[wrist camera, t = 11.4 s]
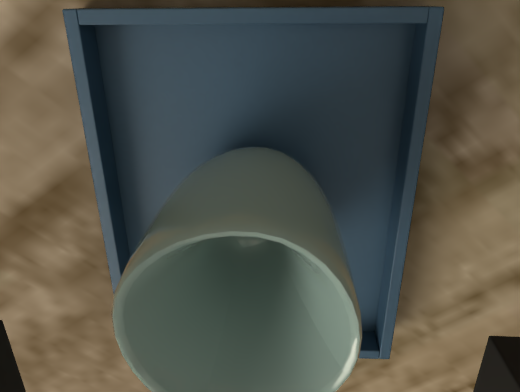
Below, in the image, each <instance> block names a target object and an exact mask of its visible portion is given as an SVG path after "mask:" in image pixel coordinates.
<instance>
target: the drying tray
mask: <svg viewBox="0 0 520 392" xmlns="http://www.w3.org/2000/svg"><path fill="white" fill-rule="evenodd" d="M443 14H444V7H437V6H364V7H209V8H79V9H63V16H64V21H65V27H66V32H67V38H68V44H69V49H70V55H71V60H72V66H73V71H74V77H75V82H76V88H77V93H78V99H79V105H80V110H81V116H82V121H83V127H84V132H85V138H86V143H87V149H88V154H89V160H90V166H91V171H92V177H93V182H94V188H95V193H96V199H97V204H98V210H99V215H100V221H101V226H102V232H103V238H104V243H105V249H106V254H107V260H108V265H109V271H110V276H111V282H112V287H113V293H115V290H116V287H117V285H118V282H119V280H120V278H121V276H122V274H123V272H124V270H125V268H126V265H127V263H128V261H129V259H130V258H131V256H132V254H133V252H134V250H135V249H136V247H137V245H138V243H139V242H140V240H141V238H142V236H143V235H144V233H145V231H146V230H147V228H148V226H149V224H150V223H151V221H152V220H153V218H154V216H155V215H156V213H157V212H158V210H159V209H160V207H161V205H162V204H163V203H164V201H165V200H166V199H167V197H168V196H169V195H170V194H171V192H172V191H173V190H174V189H175V188H176V186H177V185H178V184H179V183H180V182H181V180H182V179H183V178H184V177H185V176H186V175H187V174H188V173H190V172H191V171H192V170H193V169H195V168H196V167H197V166H199V165H200V164H201V163H203V162H204V161H206V160H208V159H210V158H212V157H213V156H215V155H217V154H219V153H222V152H225V151H228V150H231V149H234V148H241V147H248V146H258V147H268V148H272V149H276V150H280V151H282V152H284V153H286V154H288V155H290V156H292V157H294V158H295V159H296V160H297V161H299V162H300V163H301V164H302V165H303V166H305V167H306V168H307V169H308V171H309V172H310V173H311V174H312V175H313V177H314V178H315V179H316V180H317V182H318V183H319V185H320V186H321V188H322V190H323V192H324V193H325V195H326V197H327V199H328V201H329V203H330V205H331V207H332V209H333V212H334V214H335V217H336V220H337V223H338V226H339V229H340V232H341V235H342V239H343V242H344V245H345V248H346V252H347V255H348V259H349V263H350V267H351V270H352V274H353V278H354V282H355V286H356V290H357V294H358V299H359V304H360V312H361V323H362V342H361V348H360V354H359V358H369V359H378V358H379V359H389V358H390V352H391V346H392V339H393V333H394V327H395V320H396V314H397V307H398V301H399V295H400V288H401V282H402V275H403V269H404V263H405V256H406V250H407V244H408V237H409V231H410V224H411V218H412V212H413V205H414V199H415V192H416V186H417V180H418V173H419V167H420V161H421V154H422V148H423V141H424V135H425V129H426V122H427V116H428V109H429V103H430V97H431V90H432V84H433V77H434V71H435V65H436V58H437V52H438V46H439V39H440V33H441V26H442V20H443Z"/></svg>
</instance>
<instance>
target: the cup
mask: <svg viewBox="0 0 520 392" xmlns="http://www.w3.org/2000/svg"><path fill="white" fill-rule="evenodd" d="M112 322H113V329H114V335H115V337H116V340H117V342H118V345H119V347H120V350H121V352H122V355H123V357H124V358H125V360H126V361H127V363H128V365H129V366H130V368H131V369H132V371H133V372H134V373H135V375H136V376H137V377H138V378H139V379H140V380H141V381H142V383H143V384H144V385H145V386H146V387H147V388H148V389H149V390H151V391H152V392H335V391H336V390H338V389H339V387H340V386H341V385H342V384H343V383H344V382H345V380H346V379H347V378H348V377H349V376H350V374H351V373H352V371H353V369H354V366H355V364H356V362H357V360H358V358H359V354H360V348H361V342H362V323H361V312H360V304H359V299H358V294H357V290H356V286H355V282H354V278H353V274H352V270H351V267H350V263H349V259H348V255H347V252H346V248H345V245H344V242H343V239H342V235H341V232H340V229H339V226H338V223H337V220H336V217H335V214H334V212H333V209H332V207H331V205H330V203H329V201H328V199H327V197H326V195H325V193H324V192H323V190H322V188H321V186H320V185H319V183H318V182H317V180H316V179H315V178H314V177H313V175H312V174H311V173H310V172H309V171H308V169H307V168H306V167H305V166H303V165H302V164H301V163H300V162H299V161H297V160H296V159H295V158H294V157H292V156H290V155H288V154H286V153H284V152H282V151H280V150H276V149H272V148H268V147H258V146H248V147H241V148H234V149H231V150H228V151H225V152H222V153H219V154H217V155H215V156H213V157H212V158H210V159H208V160H206V161H204V162H203V163H201V164H200V165H199V166H197V167H196V168H195V169H193V170H192V171H191V172H190V173H188V174H187V175H186V176H185V177H184V178H183V179H182V180H181V182H180V183H179V184H178V185H177V186H176V188H175V189H174V190H173V191H172V192H171V194H170V195H169V196H168V197H167V199H166V200H165V201H164V203H163V204H162V205H161V207H160V209H159V210H158V212H157V213H156V215H155V216H154V218H153V220H152V221H151V223H150V224H149V226H148V228H147V230H146V231H145V233H144V235H143V236H142V238H141V240H140V242H139V243H138V245H137V247H136V249H135V250H134V252H133V254H132V256H131V258H130V259H129V261H128V263H127V265H126V268H125V270H124V272H123V274H122V276H121V278H120V280H119V282H118V285H117V287H116V290H115V293H114V299H113V307H112Z"/></svg>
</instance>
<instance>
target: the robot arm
mask: <svg viewBox="0 0 520 392" xmlns="http://www.w3.org/2000/svg"><path fill="white" fill-rule="evenodd" d="M0 392H26V391H25V388H24V385H23V382H22V379H21V376H20V373H19V370H18V367H17V364H16V361H15V358H14V355H13V352H12V349H11V345H10V342H9V339H8V336H7V333H6V330H5V327H4V324H3V321H2V320H0ZM473 392H520V337H506V336H489V338H488V342H487V345H486V349H485V353H484V356H483V360H482V363H481V367H480V370H479V374H478V377H477V381H476V384H475V388H474V391H473Z"/></svg>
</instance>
